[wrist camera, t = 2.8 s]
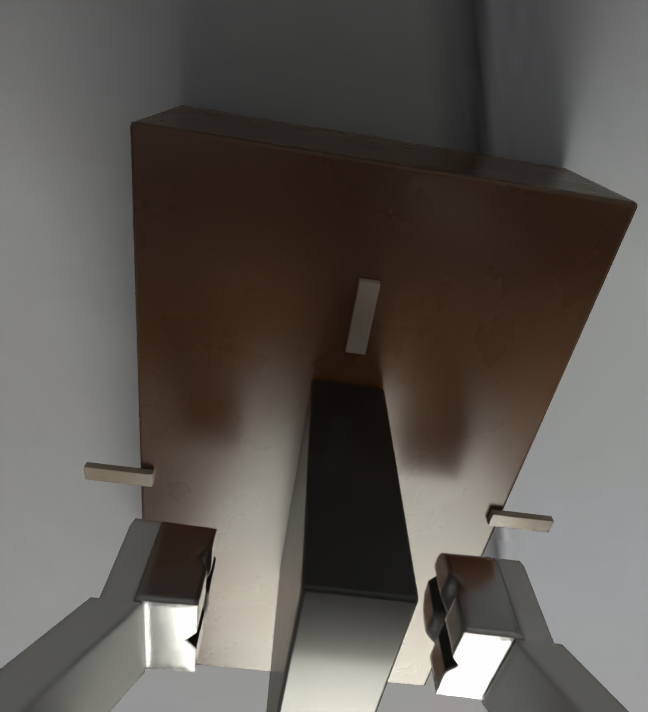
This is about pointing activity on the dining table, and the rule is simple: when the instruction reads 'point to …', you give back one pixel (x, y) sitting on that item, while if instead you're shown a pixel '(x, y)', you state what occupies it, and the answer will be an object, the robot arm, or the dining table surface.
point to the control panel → (345, 334)
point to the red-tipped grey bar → (342, 560)
